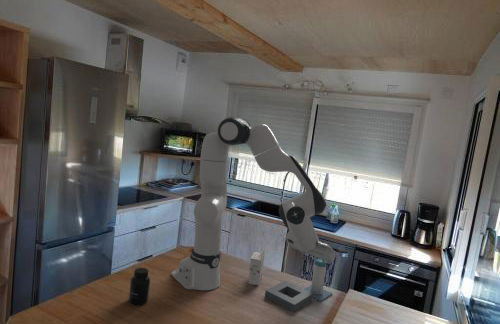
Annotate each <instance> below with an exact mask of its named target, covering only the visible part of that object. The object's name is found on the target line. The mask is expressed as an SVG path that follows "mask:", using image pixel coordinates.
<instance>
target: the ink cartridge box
mask: <svg viewBox="0 0 500 324" xmlns="http://www.w3.org/2000/svg"><path fill="white" fill-rule="evenodd" d="M265 250H266V248H265V247H263V249H262V251H261V252H257V251H254V252H253V254H252V255H251V257H250V263H249V275H248V284H249V285H252V286H253V285H255V286H259V285H260V283H261V280H262V277H263V268H264V262H265V252H266V251H265Z"/></svg>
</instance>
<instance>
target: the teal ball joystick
mask: <svg viewBox="0 0 500 324" xmlns="http://www.w3.org/2000/svg"><path fill="white" fill-rule="evenodd" d="M327 264H328V262H327V263H324V262H323V261H322V259H321V258H316V259H314V265H313V272H312V279H311V285H310V286H311V293H313V294H315V295H322V292H323V289H324V285H325V277H326V271H327V270H326V269H327Z"/></svg>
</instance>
